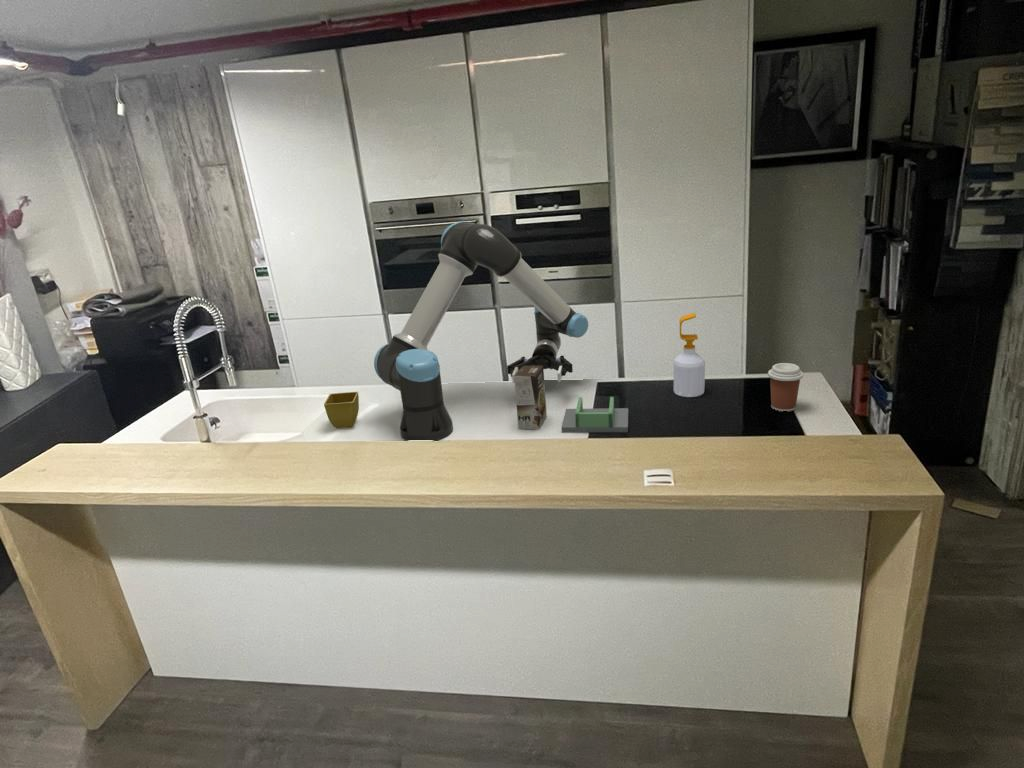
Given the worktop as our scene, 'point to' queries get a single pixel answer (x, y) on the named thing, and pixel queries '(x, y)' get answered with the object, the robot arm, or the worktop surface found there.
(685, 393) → the soap bottle
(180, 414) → the worktop surface
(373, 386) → the worktop surface
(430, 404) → the robot arm
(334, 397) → the flower pot
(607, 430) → the chute bracket
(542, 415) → the coffee box
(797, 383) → the coffee cup
